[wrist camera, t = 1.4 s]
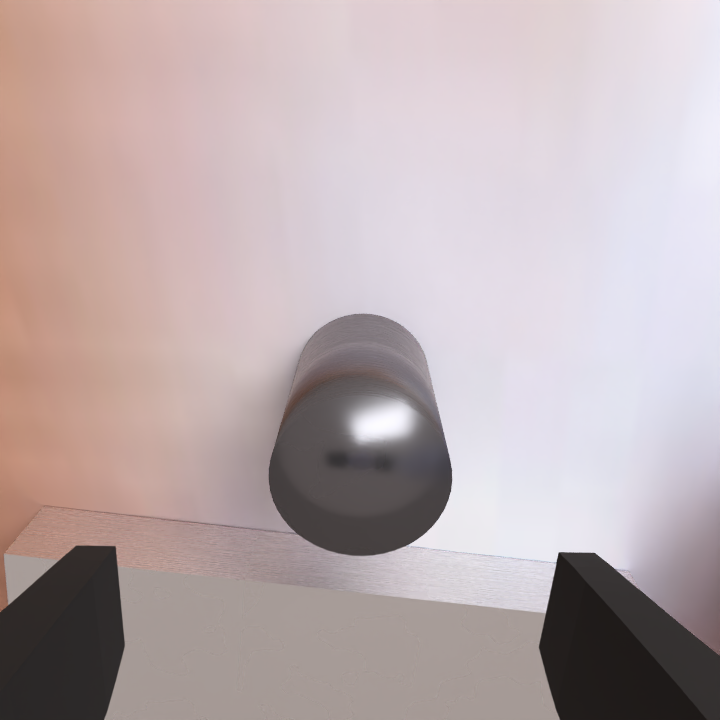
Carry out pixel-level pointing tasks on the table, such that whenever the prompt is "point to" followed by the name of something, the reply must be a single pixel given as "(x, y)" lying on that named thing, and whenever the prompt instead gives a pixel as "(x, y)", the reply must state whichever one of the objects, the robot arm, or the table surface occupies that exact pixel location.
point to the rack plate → (305, 624)
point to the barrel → (361, 441)
